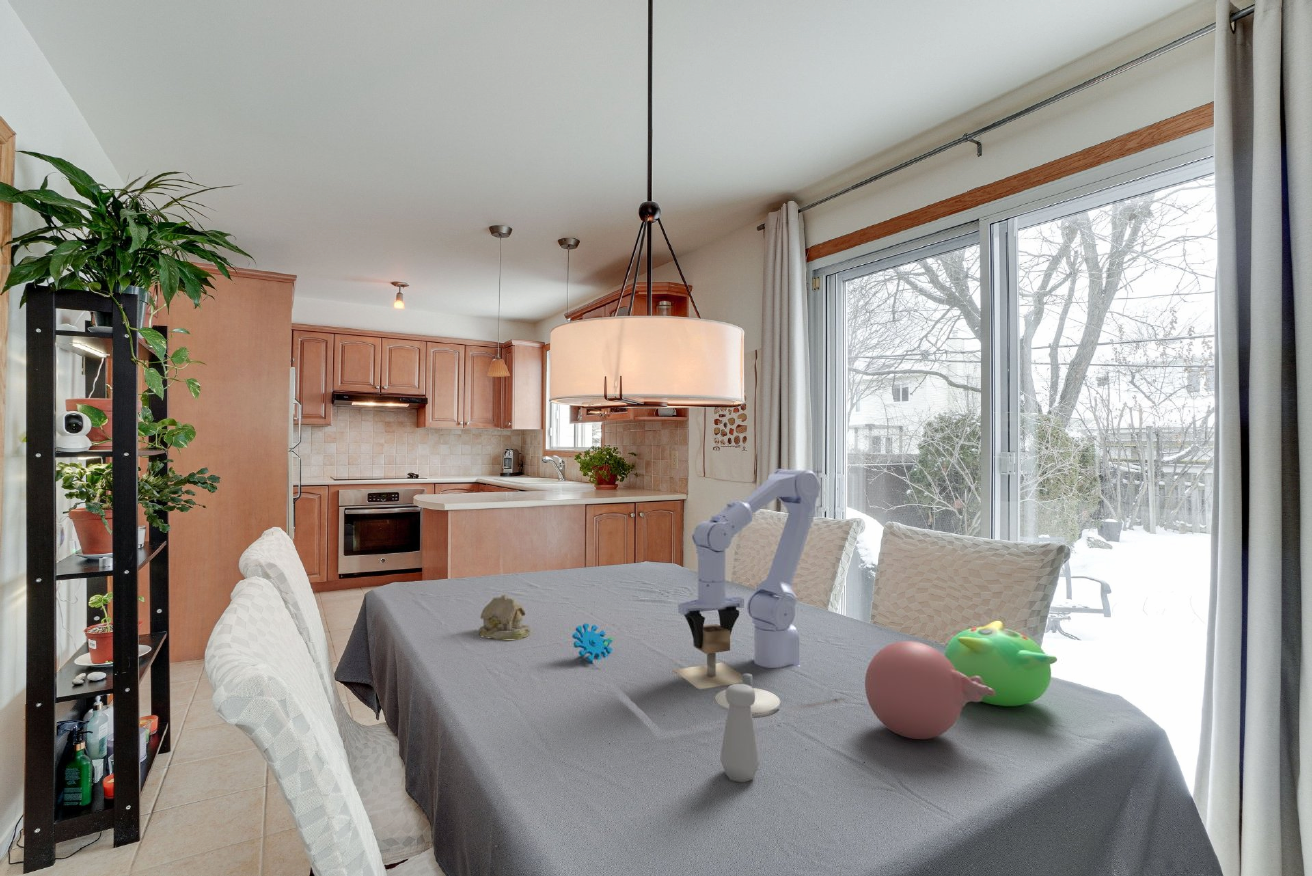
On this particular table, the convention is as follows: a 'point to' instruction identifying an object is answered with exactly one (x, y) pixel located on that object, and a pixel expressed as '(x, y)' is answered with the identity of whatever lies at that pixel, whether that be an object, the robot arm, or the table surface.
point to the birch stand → (710, 674)
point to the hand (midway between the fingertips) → (711, 645)
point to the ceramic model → (503, 619)
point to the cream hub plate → (762, 700)
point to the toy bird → (1002, 663)
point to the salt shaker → (740, 735)
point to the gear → (592, 642)
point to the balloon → (918, 690)
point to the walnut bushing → (715, 639)
